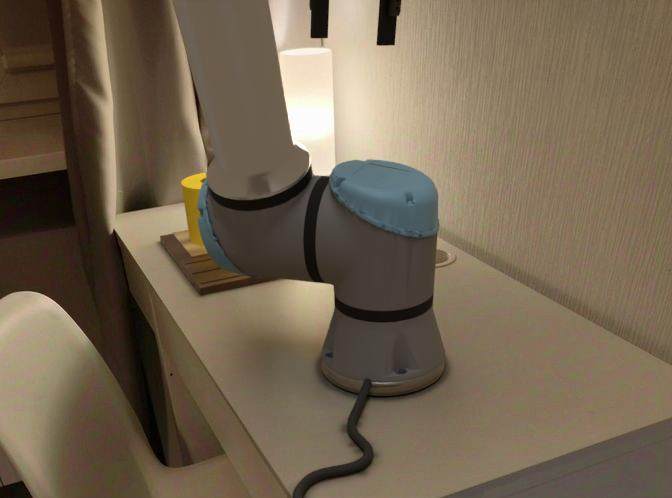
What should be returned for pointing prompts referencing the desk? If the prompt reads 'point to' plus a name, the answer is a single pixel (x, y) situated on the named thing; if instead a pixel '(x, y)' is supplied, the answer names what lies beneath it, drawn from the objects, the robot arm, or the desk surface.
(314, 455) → the desk surface
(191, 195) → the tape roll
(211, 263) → the board
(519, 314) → the desk surface
